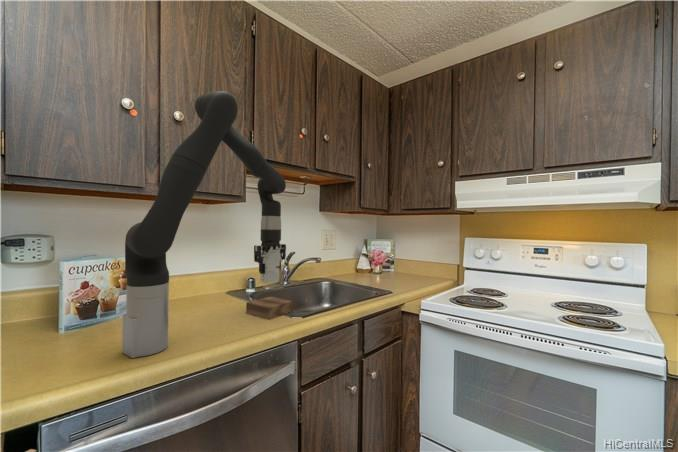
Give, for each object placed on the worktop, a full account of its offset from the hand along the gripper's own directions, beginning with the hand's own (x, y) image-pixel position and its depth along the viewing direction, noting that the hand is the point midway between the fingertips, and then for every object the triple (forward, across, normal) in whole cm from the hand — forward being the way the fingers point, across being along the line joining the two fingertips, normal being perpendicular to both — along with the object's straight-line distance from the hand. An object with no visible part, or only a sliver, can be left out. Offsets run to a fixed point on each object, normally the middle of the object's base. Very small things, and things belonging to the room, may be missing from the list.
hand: (270, 272), depth 108 cm
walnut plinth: (+15, 0, 0) cm, 15 cm away
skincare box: (+4, 0, 0) cm, 4 cm away
